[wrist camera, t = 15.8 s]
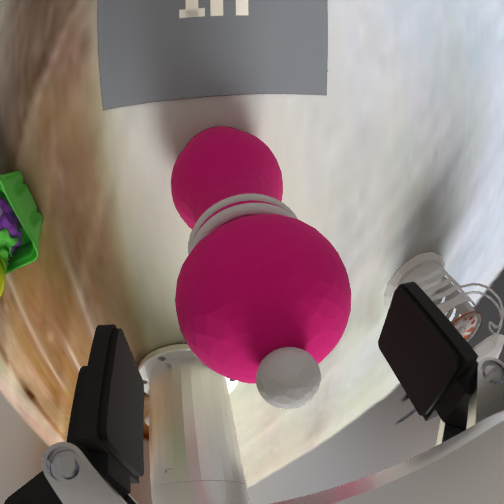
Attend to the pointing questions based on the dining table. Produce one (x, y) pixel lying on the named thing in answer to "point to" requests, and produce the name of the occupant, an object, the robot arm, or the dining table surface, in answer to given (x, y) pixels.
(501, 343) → the french press
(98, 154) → the dining table surface
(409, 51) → the dining table surface
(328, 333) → the pepper mill
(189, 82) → the tile
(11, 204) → the fruit basket
